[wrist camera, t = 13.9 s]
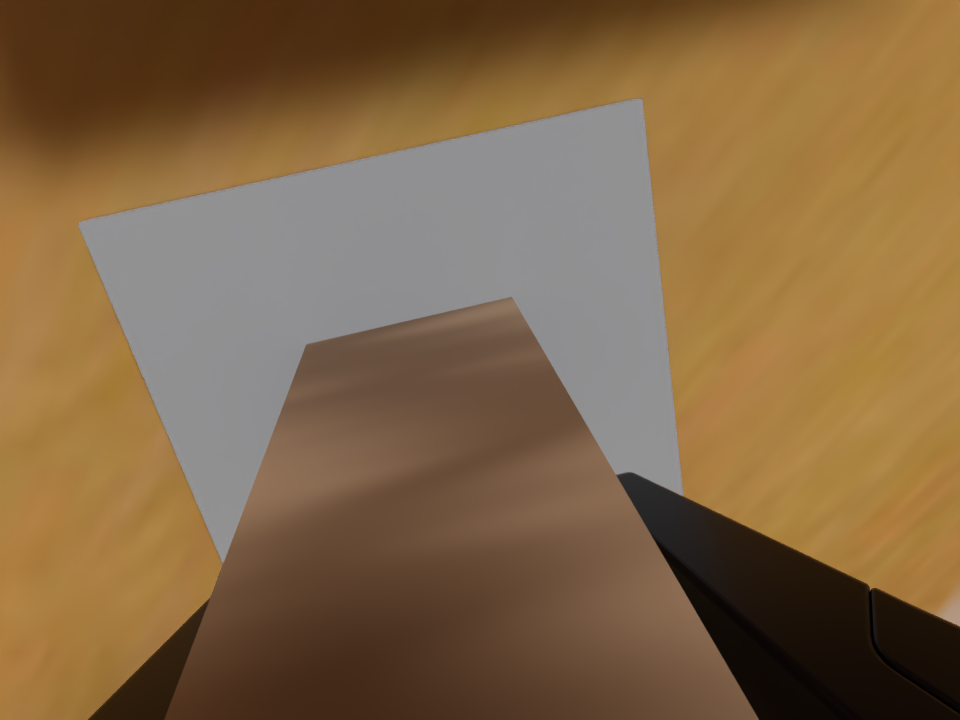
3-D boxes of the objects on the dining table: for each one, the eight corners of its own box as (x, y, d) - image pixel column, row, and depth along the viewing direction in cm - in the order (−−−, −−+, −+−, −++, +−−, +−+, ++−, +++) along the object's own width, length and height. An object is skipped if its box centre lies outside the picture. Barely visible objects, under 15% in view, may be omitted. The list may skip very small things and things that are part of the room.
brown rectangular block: (511, 296, 12) (969, 1079, 2) (545, 473, 13) (921, 1419, 4) (306, 343, 11) (-83, 1368, 2) (362, 517, 13) (266, 1608, 4)
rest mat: (634, 98, 11) (642, 99, 11) (681, 541, 14) (689, 552, 14) (88, 219, 11) (77, 223, 10) (267, 644, 14) (263, 658, 14)
